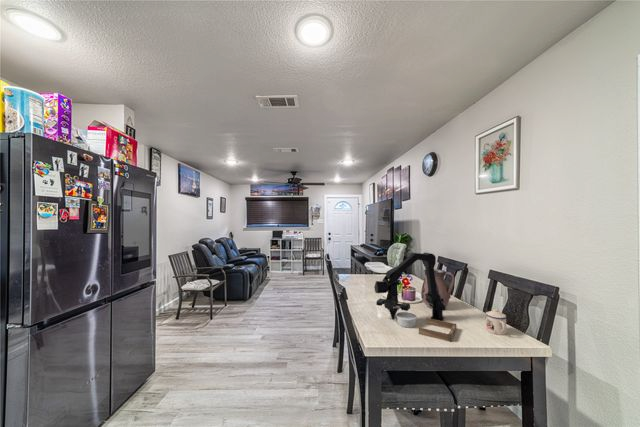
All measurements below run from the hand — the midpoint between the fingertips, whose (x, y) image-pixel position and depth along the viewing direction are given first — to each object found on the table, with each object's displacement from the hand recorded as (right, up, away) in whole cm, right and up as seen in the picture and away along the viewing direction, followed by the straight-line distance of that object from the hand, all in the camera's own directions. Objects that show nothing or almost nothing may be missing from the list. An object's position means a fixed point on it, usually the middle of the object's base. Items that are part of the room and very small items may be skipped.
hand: (393, 319), depth 149 cm
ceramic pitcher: (+38, -2, +24) cm, 44 cm away
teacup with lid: (+50, -1, -16) cm, 53 cm away
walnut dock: (+19, -1, -14) cm, 24 cm away
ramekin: (+6, -2, -5) cm, 8 cm away
